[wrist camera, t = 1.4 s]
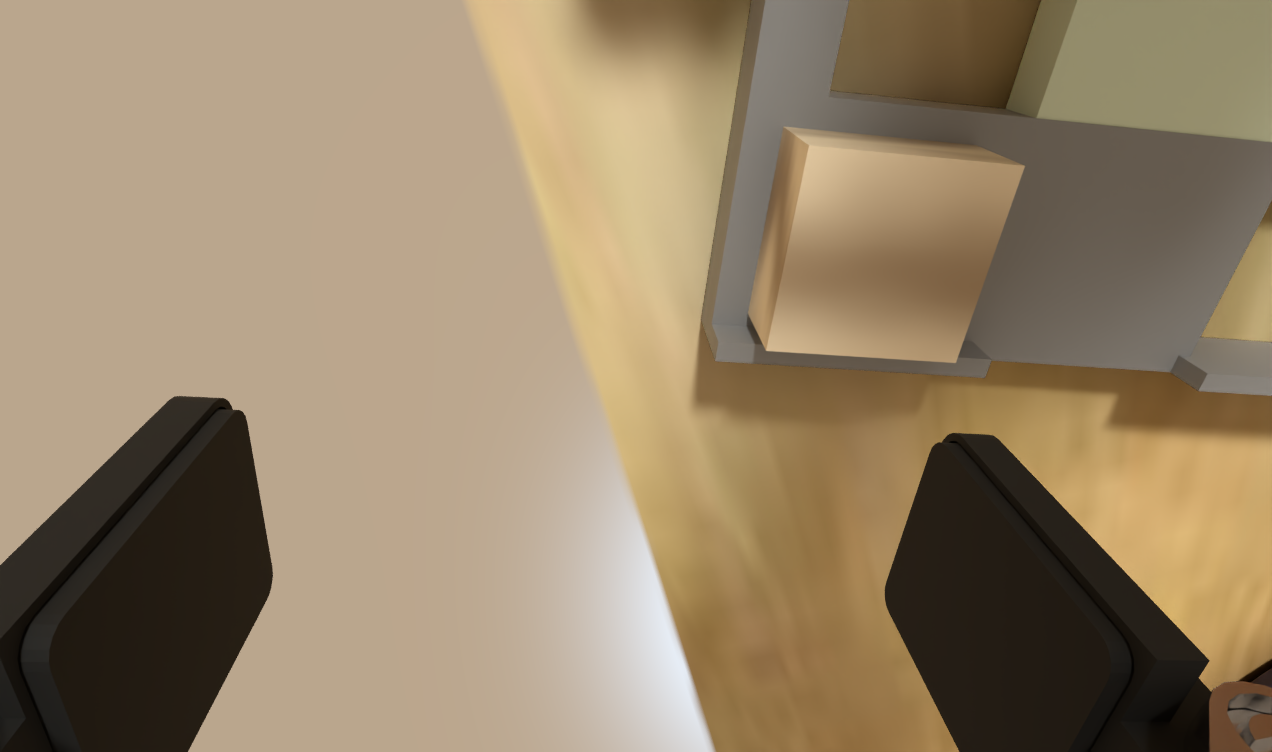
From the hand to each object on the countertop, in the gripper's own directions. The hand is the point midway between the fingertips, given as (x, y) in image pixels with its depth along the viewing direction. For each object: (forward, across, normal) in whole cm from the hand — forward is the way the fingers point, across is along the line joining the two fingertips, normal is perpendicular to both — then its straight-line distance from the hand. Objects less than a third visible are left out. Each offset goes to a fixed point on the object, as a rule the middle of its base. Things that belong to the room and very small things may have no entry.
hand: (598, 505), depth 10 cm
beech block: (+16, -9, 0) cm, 18 cm away
